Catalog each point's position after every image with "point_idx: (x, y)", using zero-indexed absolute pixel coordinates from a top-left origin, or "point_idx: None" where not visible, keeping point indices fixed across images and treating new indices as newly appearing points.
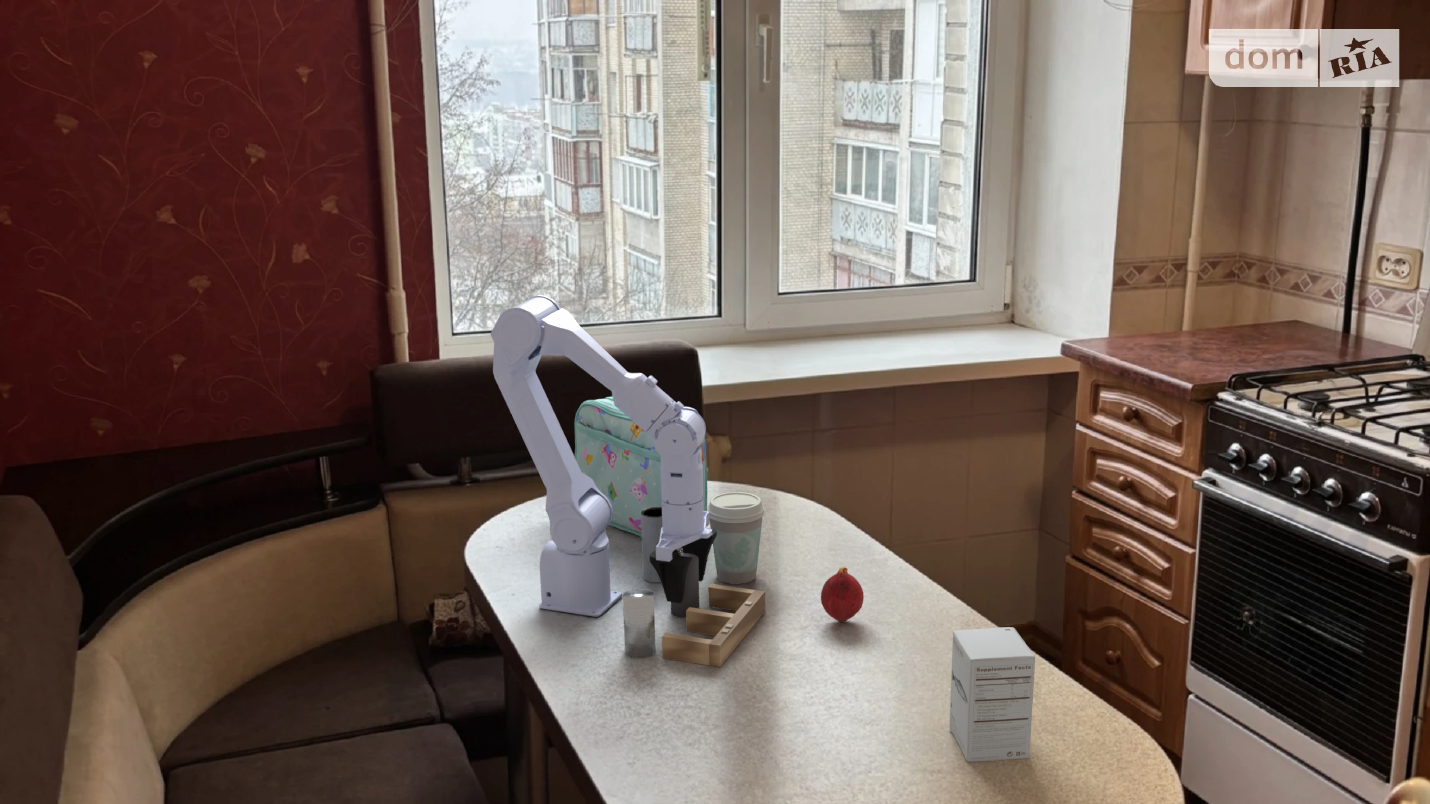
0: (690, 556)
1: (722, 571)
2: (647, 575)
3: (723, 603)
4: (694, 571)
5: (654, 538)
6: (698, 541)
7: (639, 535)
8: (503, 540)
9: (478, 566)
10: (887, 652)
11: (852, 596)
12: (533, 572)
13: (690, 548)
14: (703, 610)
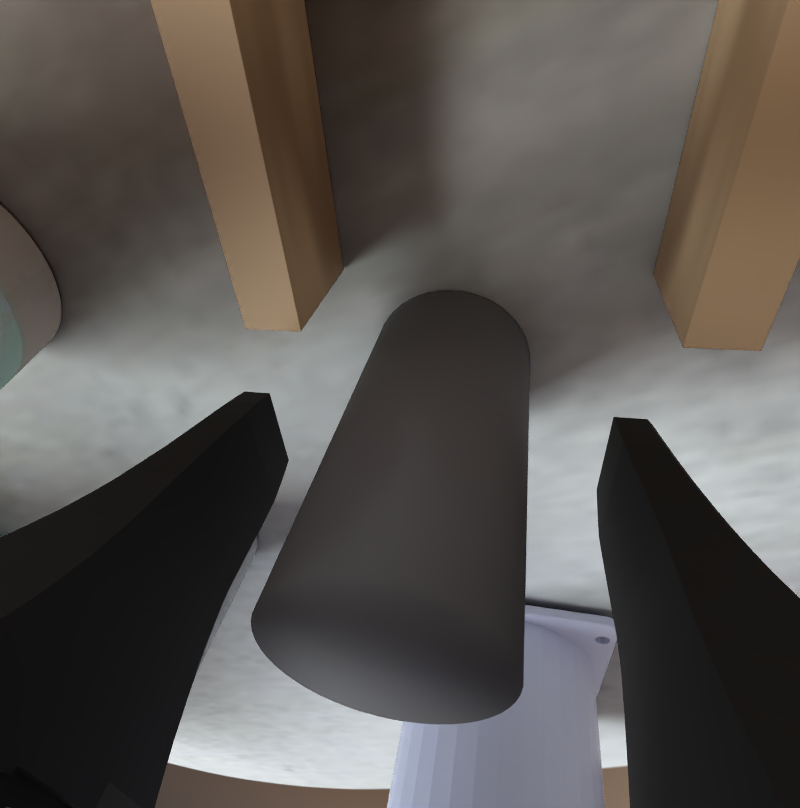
0: (306, 630)
1: (22, 332)
2: (249, 564)
3: (317, 182)
4: (441, 512)
5: None
6: (85, 680)
7: None
8: (257, 764)
9: (390, 786)
10: None
11: None
12: (366, 732)
13: (168, 641)
14: (753, 218)
